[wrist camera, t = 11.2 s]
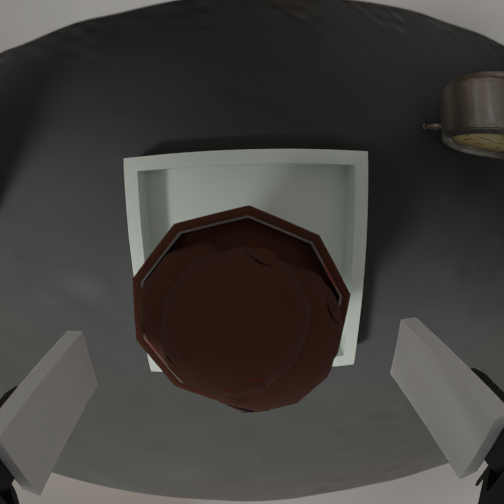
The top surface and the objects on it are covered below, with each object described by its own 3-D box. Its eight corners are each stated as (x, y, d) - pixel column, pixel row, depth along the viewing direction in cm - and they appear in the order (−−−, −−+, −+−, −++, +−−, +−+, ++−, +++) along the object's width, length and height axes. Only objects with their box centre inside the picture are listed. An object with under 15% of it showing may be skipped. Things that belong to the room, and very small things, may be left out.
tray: (157, 355, 27) (151, 371, 25) (135, 159, 23) (123, 158, 20) (345, 349, 27) (353, 364, 25) (356, 152, 23) (367, 151, 21)
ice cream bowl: (145, 273, 24) (49, 389, 10) (235, 161, 22) (219, 148, 8) (246, 350, 26) (249, 502, 12) (339, 254, 24) (443, 357, 10)
